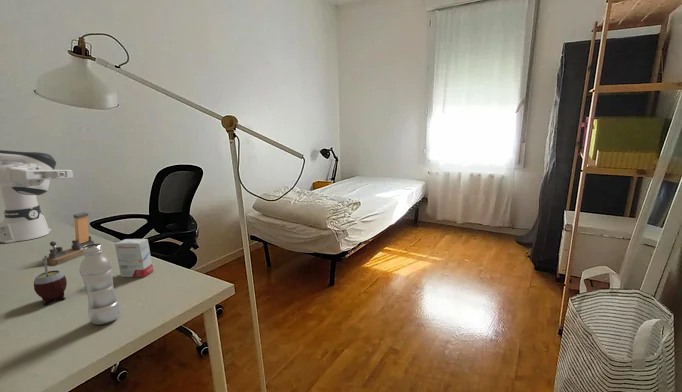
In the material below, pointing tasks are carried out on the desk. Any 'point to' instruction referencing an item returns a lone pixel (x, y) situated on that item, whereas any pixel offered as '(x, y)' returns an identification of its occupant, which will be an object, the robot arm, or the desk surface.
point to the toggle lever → (53, 245)
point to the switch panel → (67, 252)
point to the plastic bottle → (99, 285)
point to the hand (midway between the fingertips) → (61, 174)
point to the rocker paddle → (81, 227)
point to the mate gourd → (50, 285)
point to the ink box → (134, 257)
